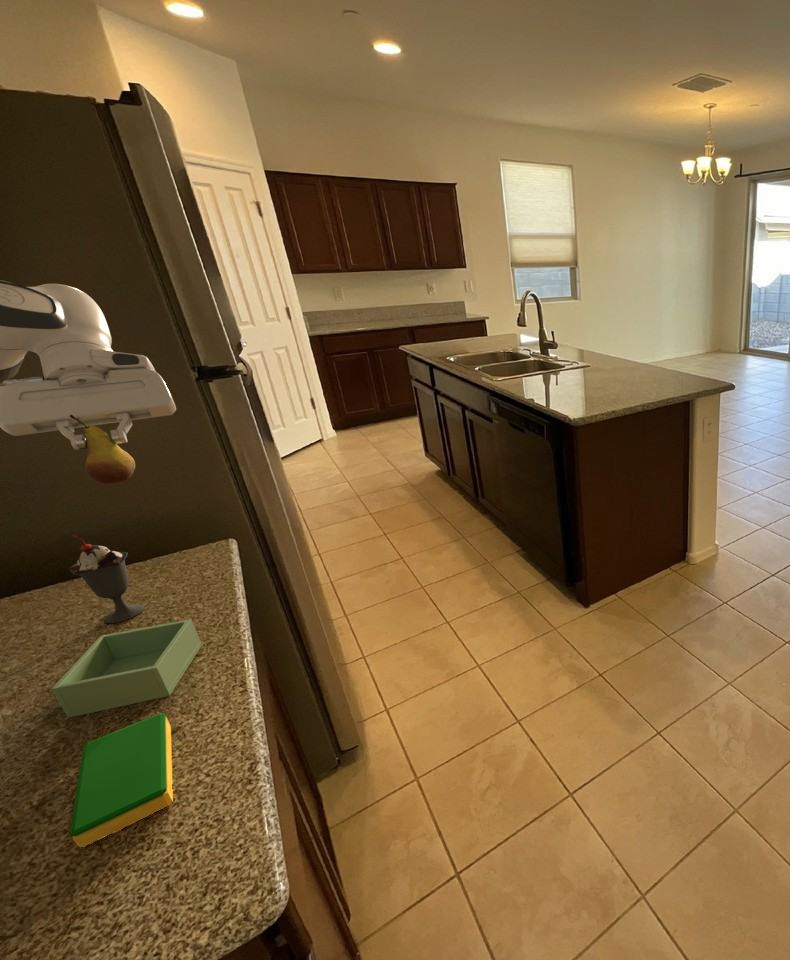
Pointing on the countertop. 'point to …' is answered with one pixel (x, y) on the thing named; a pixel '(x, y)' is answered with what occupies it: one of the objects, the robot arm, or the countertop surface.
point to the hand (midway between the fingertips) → (100, 444)
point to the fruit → (106, 457)
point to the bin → (128, 668)
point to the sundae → (106, 578)
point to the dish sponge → (123, 779)
